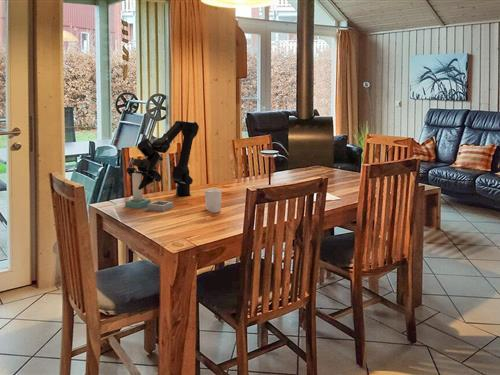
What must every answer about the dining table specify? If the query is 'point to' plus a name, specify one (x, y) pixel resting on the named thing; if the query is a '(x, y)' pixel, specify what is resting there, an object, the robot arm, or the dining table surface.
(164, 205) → the socket board
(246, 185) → the dining table surface
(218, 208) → the white cup
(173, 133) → the robot arm
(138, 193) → the peg
